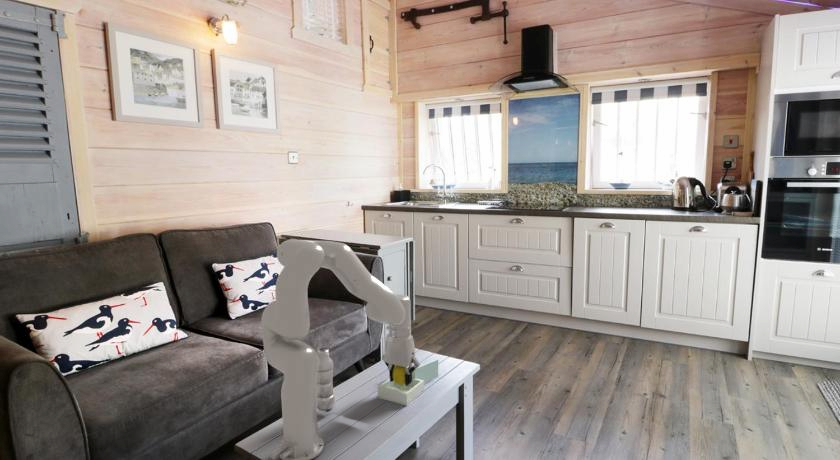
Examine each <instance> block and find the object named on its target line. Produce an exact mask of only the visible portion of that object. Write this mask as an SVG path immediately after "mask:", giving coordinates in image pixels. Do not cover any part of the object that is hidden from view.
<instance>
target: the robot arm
mask: <svg viewBox="0 0 840 460" xmlns="http://www.w3.org/2000/svg"><path fill="white" fill-rule="evenodd" d="M276 257H277V261H278V263H279V264H280V265H282V266H283V267H282V269H281V271H280V273H279V274H278V277H277V279H276V283H275V289H274V290H275V291H274V292H275V300H272V301H271V302H269V303H268V304H267V305H266V307H265V308H264V309H263V311H262V314H261V315H262V316H261V322H260V323H261V334H262V335H261V336H262V343H263V351H264V352H263V353H264V357H265V359H266V361H267V363H268V364H269V365H270V366H271V367H272V368H274V369H276V370H278V371H280V372H281V373H282V374H283V381H282V384H281V392H280V398H281V399H280V400H281V401H280V402H281V412H282V413H281V414H282V416H281V417H282V433H283V437H282V438H283V439H281V440H280V445H279V446H278V448H277V449H275V450H273V451H272V452H270V454H269V455H270V458H271V459H272V460H277V459H278V457H279V458H280V459H281V460H312V459H314V458H316V457H318V456H319V455H320V454H321V453H322V452H323V451H324V447H325V446H324V445H325V442H324V440H323V438H322V437H321V436H319V432H318V431H319V430H318V427H319V426H318V409H317V402H316V374H317V367H318V356H317V352H316V350H315V349H314V348H313V347H312V346H311V345H309V344H308V343H305V342H303V341H301V340H302V339H304V338H305V337H306V336H307V335H308V333H309V331H310V326H311V320H310V319H311V318H310V308H309V300H308V299H309V297H308V296H309V295H308V293H309V292H308V291H309V290H308V288H309V284H310V281H311V279H312V278H313V277H314V275H315V274H316V273H317V272H318V271H319V269H320V268H324V269H327V270H330V271H332V273H333V274H334V275H335V277H337V279H338V280H339V281H340V282H341V284H342V285H343V286H344V287H345V289H346V290H347V291H348V292H349V293H351V294H352V295H353V296H355V297H357V298H358V299H360V300H362V301H365V302H366V305H365V315H366V316H367V318H368V319H370V320H372V321H374V322H376V323H381V324H385V325H387V326H386V327H385V329H386V330H387V331H388V333H387V334H386V338H385V344H384V354H383V355H381V360H382V361H383V362H384V364H385V365H386V367H387V370H388V371H389V373H388V374H389V376H388V377H389V379H390V382H392V381H394V379H393V370H394V368H395V365H397V366H401V367H405V370H406V373H407V374H405V385H406V386H408V385H409V384H410V383H411V382H412V372H413V371H414V370H415V369H416V368H418V367H419V366H420V365H421V363H420V362H419V360H418V359H417V357H416V349H415V341H414V337H413V334H412V327H411V326H412V325H411V324H412V314H411V313H412V311H411V309H412V308H411V298H410V296H408V295H405V294H395V293H394V291H392V290H391V289H390V288H389V287H387V286H386V285H385V284H384V283H382V281H381V280H379V279H378V278H376V277H375V276H373V275H372V273H370V272H369V270H368V269H367V268H366V266H365V264H363V262H362V261H361V260H360V258H359V257H358V256H357V254H356V253H355V252H354V251H353V249H352V248H351V247H350V246H349V245H347V244H346V243H344V242H338V241H332V240H316V239H315V240H314V239H313V240H310V239H287V240H285V241H283V242H281V243H280V245H279V246H278V248H277V251H276Z"/></svg>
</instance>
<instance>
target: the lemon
mask: <svg viewBox="0 0 840 460" xmlns="http://www.w3.org/2000/svg"><path fill="white" fill-rule="evenodd" d="M405 374H407V373H406V370H405V367H401V366H397V365H396V366H395V368H394V370H393V379H394V381H395V383H396V384H399V385H400V386H402V385H403V384H405Z"/></svg>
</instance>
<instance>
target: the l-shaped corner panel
mask: <svg viewBox="0 0 840 460" xmlns="http://www.w3.org/2000/svg"><path fill="white" fill-rule="evenodd" d="M395 366H396V365H395ZM438 377H439V359H437V358H435V359H433V360H431V361H428V362H425V363H423V364H420V366H419V367H418V368H416V369H415V370H414V371H413V372H412V378H415V379H419V380H424V385H426V383H429V382H430V381H433V380H434V379H436V378H438Z"/></svg>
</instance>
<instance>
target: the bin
mask: <svg viewBox="0 0 840 460" xmlns="http://www.w3.org/2000/svg"><path fill="white" fill-rule="evenodd" d="M424 392H425V384H424V380H419V379H415V378H412V382H411V383H410V384H409V385H408V386H406V385H405V384H403V385H402V386H400V385H399V384H396V383H395V381H392V382H390V378H388V379H387V380H385V381H384V382H383V383H381V384H380V385H378V386H377V398H378V399H381V400H385V401H387V402H392V403H396V404H399V405H402V406H406V407H407V406H408V405H409V406H410V404H412V402H413V401H415V400H416V399H417V398H418V397H419V396H420V395H422V394H423V393H424Z"/></svg>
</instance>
